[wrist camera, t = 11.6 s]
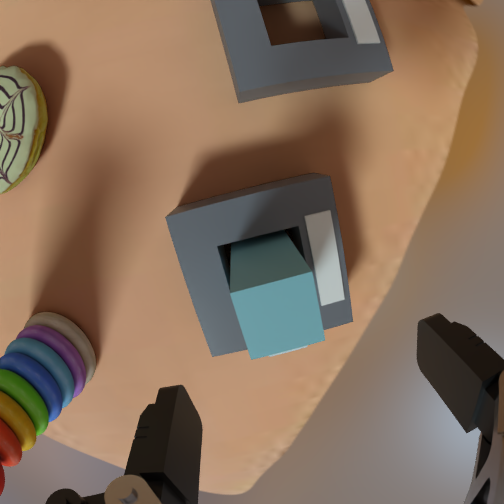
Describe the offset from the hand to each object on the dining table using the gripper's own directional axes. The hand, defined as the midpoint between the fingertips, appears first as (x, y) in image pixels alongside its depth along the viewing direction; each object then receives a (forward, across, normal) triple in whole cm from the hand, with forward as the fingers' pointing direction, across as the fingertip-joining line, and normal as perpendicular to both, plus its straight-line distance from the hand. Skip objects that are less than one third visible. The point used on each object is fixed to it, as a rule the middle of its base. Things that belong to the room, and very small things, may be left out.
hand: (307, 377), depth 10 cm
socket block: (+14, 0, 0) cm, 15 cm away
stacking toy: (+15, +20, +4) cm, 26 cm away
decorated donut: (+15, +18, -16) cm, 28 cm away
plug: (+14, 0, 0) cm, 15 cm away
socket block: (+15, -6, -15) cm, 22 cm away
